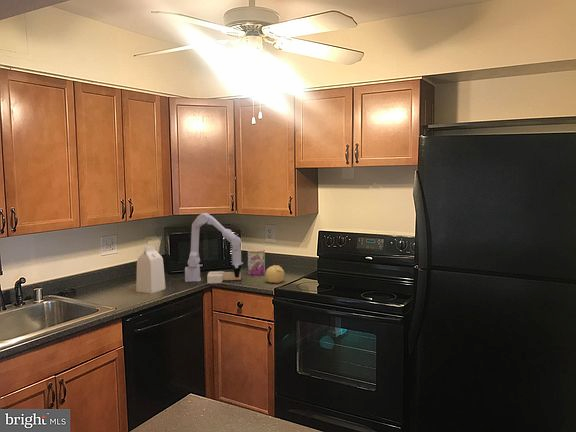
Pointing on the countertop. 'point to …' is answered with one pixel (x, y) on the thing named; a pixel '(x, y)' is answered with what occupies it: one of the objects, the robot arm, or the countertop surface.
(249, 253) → the candy bar box
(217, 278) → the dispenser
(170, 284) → the countertop surface
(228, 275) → the thin wooden plank
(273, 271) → the beige round lump
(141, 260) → the milk
